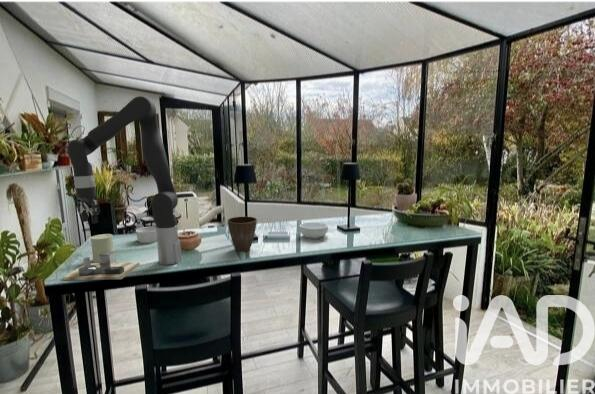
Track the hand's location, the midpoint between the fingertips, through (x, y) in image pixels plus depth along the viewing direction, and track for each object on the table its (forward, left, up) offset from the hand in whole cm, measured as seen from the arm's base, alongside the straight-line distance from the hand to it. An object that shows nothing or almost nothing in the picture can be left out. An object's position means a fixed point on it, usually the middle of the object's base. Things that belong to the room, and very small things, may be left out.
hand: (90, 222), depth 145 cm
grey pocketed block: (-8, +3, -19) cm, 21 cm away
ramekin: (-7, -40, -21) cm, 46 cm away
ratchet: (-9, +11, -19) cm, 24 cm away
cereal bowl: (-102, -44, -21) cm, 113 cm away
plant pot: (-64, -22, -21) cm, 71 cm away
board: (-8, +7, -21) cm, 23 cm away
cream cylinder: (+1, -9, -21) cm, 23 cm away
